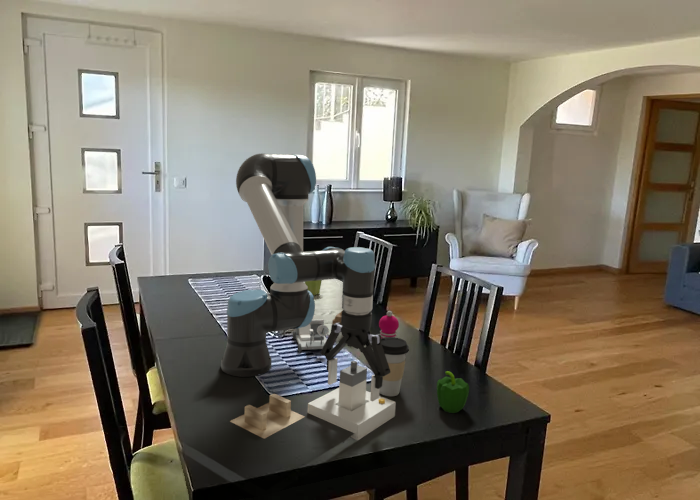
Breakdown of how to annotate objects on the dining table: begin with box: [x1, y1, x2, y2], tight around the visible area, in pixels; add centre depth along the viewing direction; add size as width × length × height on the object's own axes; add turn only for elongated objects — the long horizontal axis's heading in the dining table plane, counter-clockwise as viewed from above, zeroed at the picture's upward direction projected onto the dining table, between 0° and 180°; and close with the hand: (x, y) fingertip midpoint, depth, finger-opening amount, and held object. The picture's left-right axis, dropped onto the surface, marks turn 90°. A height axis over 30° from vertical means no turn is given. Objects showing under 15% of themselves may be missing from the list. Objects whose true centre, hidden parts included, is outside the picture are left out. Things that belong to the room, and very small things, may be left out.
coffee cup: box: [379, 337, 410, 397], centre depth 157 cm, size 9×9×15 cm
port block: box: [307, 387, 397, 441], centre depth 142 cm, size 16×16×5 cm
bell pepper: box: [436, 370, 470, 414], centre depth 149 cm, size 8×8×10 cm
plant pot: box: [304, 280, 323, 296], centre depth 254 cm, size 9×9×9 cm
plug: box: [338, 360, 368, 411], centre depth 141 cm, size 4×6×14 cm, turn 142°
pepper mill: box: [378, 310, 400, 338], centre depth 169 cm, size 7×7×20 cm
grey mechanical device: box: [292, 318, 334, 353], centre depth 190 cm, size 18×10×12 cm
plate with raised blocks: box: [229, 393, 306, 440], centre depth 136 cm, size 12×14×6 cm
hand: (352, 391), depth 141 cm, fingers open, 13 cm apart
